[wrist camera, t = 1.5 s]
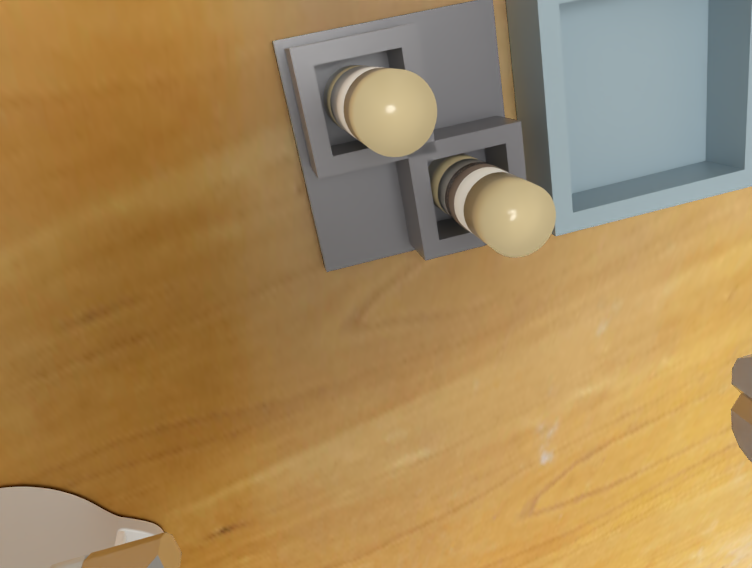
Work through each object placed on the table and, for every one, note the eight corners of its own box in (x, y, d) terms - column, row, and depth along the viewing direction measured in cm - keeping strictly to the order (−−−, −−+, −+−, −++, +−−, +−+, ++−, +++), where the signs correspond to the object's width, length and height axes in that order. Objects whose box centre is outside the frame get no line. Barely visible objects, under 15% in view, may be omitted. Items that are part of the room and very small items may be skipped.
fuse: (390, 123, 36) (442, 147, 27) (330, 136, 36) (363, 165, 27) (379, 59, 35) (430, 60, 26) (317, 72, 34) (346, 78, 25)
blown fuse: (484, 202, 39) (559, 248, 30) (428, 216, 39) (487, 266, 29) (476, 144, 38) (553, 173, 28) (419, 157, 37) (478, 191, 28)
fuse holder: (509, 220, 41) (540, 239, 37) (324, 266, 39) (334, 291, 35) (485, -2, 36) (518, -9, 32) (271, 41, 34) (276, 39, 30)
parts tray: (714, 172, 43) (760, 183, 39) (526, 219, 41) (555, 236, 37) (720, -52, 38) (773, -64, 34) (504, -10, 36) (535, -17, 32)
